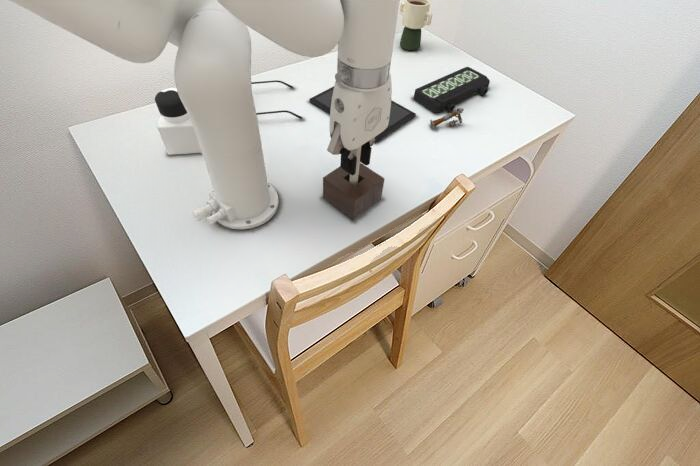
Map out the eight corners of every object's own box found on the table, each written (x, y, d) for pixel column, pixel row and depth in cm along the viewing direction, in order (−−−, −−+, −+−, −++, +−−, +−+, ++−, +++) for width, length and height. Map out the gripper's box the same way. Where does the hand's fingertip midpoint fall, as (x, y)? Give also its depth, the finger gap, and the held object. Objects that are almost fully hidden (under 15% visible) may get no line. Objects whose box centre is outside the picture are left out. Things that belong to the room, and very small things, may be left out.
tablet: (375, 143, 86) (376, 139, 86) (309, 102, 95) (309, 98, 94) (415, 116, 94) (416, 113, 93) (350, 80, 102) (350, 77, 102)
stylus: (352, 202, 75) (357, 145, 64) (346, 198, 75) (350, 141, 64) (357, 198, 75) (363, 141, 65) (351, 194, 76) (356, 137, 65)
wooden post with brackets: (466, 122, 92) (464, 108, 88) (435, 137, 93) (432, 123, 89) (463, 118, 93) (461, 104, 89) (433, 132, 94) (429, 119, 90)
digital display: (443, 106, 92) (414, 88, 96) (440, 117, 94) (412, 99, 99) (497, 80, 101) (467, 64, 105) (493, 91, 103) (464, 75, 108)
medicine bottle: (203, 153, 81) (187, 103, 72) (168, 155, 80) (147, 105, 71) (205, 132, 85) (191, 83, 76) (172, 134, 84) (153, 84, 75)
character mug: (430, 50, 116) (441, 3, 106) (417, 57, 112) (426, 10, 102) (402, 37, 120) (409, -9, 110) (388, 44, 116) (394, -3, 106)
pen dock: (353, 220, 72) (355, 200, 68) (322, 197, 75) (322, 177, 71) (381, 198, 76) (384, 178, 71) (351, 178, 79) (352, 157, 75)
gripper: (342, 101, 49) (338, 200, 63) (418, 60, 57) (399, 155, 71) (303, 78, 52) (307, 177, 66) (380, 41, 60) (369, 137, 74)
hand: (355, 165), depth 69 cm, fingers open, 3 cm apart
